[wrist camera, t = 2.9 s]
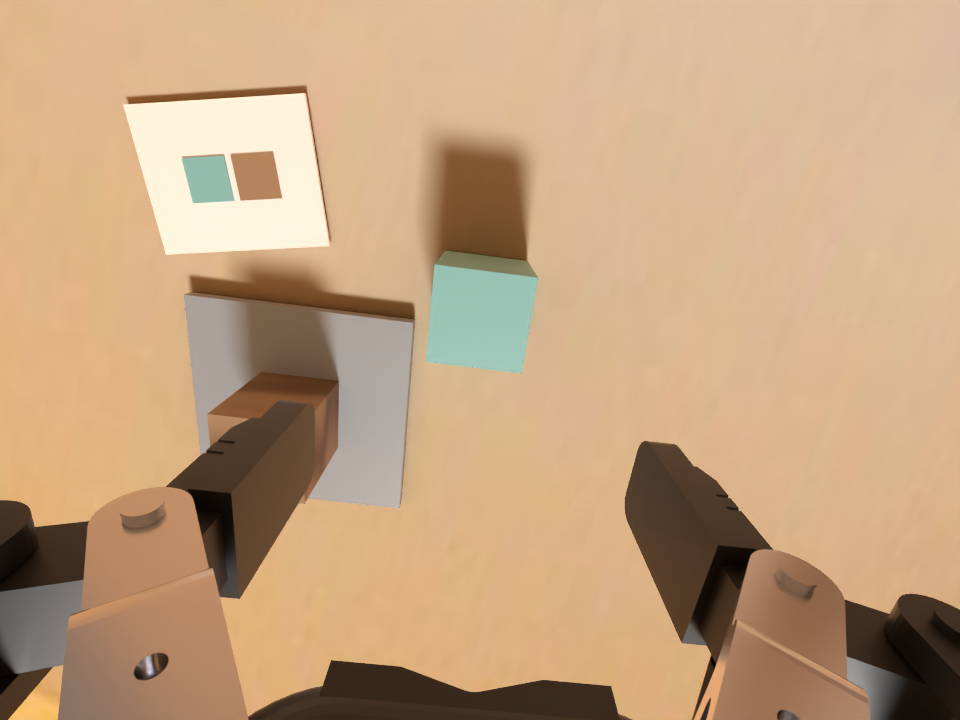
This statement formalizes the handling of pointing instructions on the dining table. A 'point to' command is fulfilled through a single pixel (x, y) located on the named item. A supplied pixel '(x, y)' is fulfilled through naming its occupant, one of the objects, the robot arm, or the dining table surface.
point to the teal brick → (480, 311)
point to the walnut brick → (276, 387)
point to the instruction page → (231, 173)
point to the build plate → (316, 354)
